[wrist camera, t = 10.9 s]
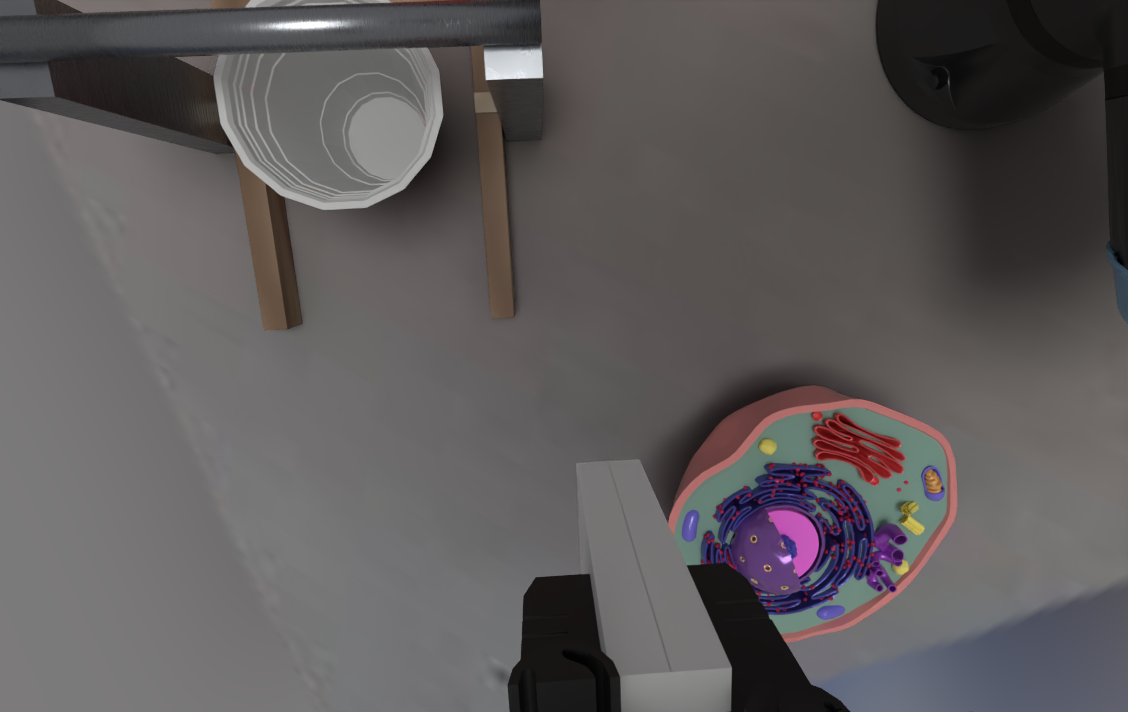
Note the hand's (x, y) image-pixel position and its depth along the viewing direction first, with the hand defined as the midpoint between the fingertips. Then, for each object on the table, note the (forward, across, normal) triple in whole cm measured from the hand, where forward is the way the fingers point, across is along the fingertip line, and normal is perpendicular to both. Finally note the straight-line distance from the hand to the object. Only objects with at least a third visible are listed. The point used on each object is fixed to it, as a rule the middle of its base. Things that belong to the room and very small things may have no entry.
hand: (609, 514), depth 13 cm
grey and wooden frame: (+29, -12, +12) cm, 34 cm away
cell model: (+30, +16, -13) cm, 36 cm away
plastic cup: (+30, -11, +14) cm, 34 cm away
